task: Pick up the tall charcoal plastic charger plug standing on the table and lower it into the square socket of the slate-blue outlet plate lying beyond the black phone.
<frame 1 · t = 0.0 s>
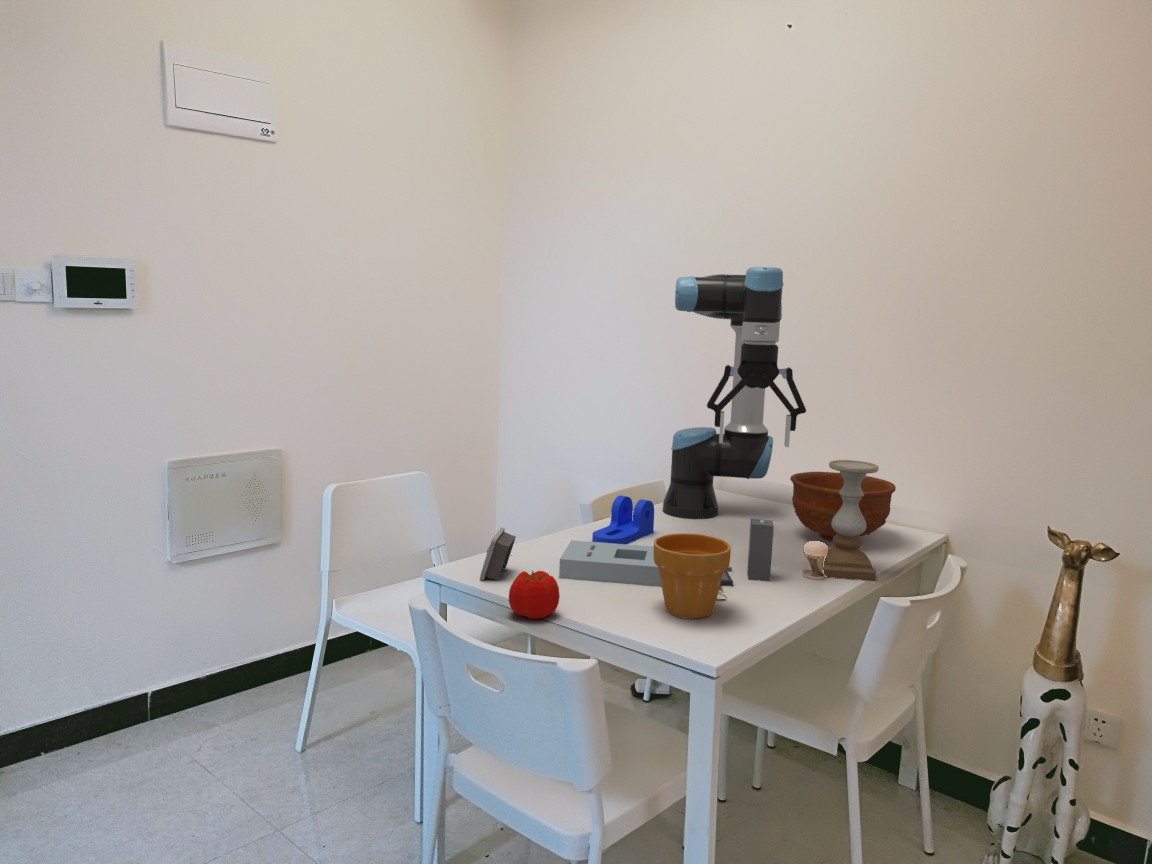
hand: (753, 444, 175), 28 cm above the table, fingers open, 13 cm apart
bracket: (620, 538, 203), on the table
outlet plate: (615, 571, 177), on the table
electrical switch: (497, 575, 173), on the table
usb cable: (697, 566, 182), on the table
tomato: (532, 615, 151), on the table
charger plug: (758, 577, 176), on the table
candle holder: (844, 572, 182), on the table
bowl: (837, 539, 207), on the table
phone: (696, 579, 173), on the table
flower pot: (688, 611, 156), on the table
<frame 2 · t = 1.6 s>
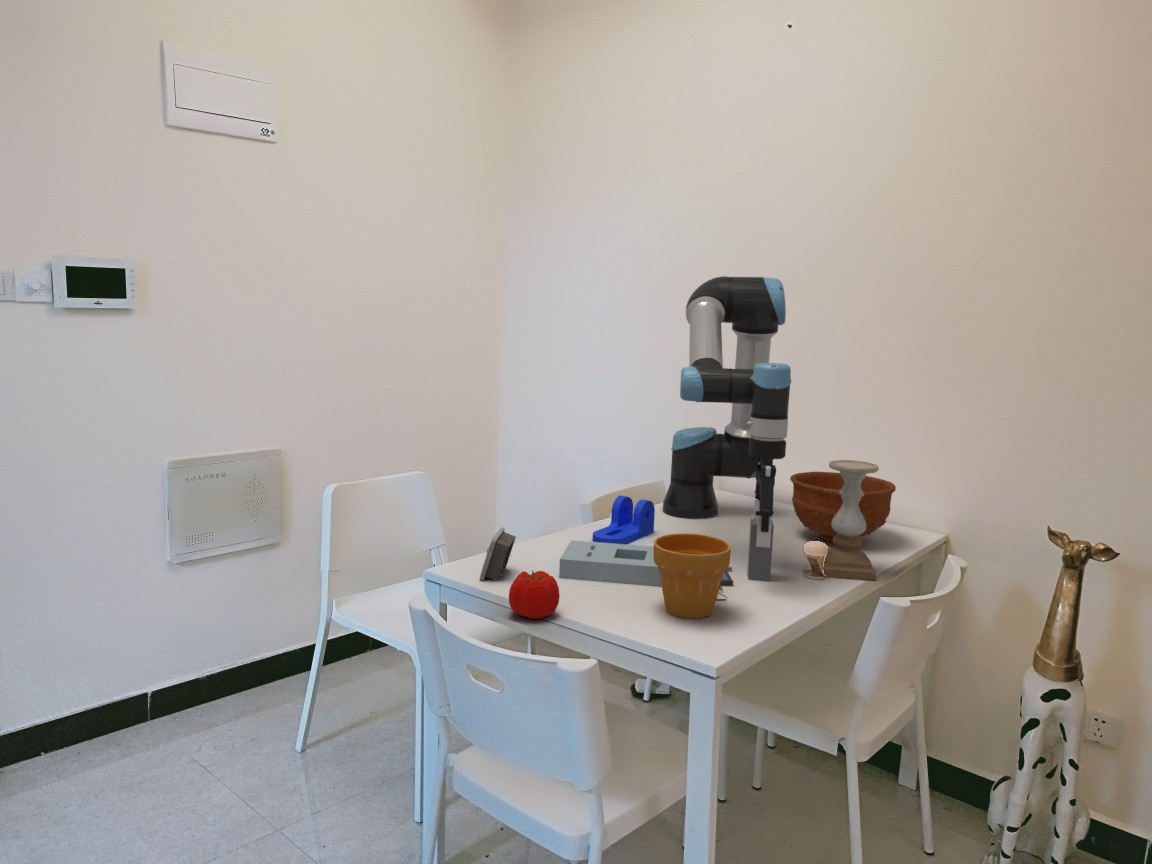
hand: (761, 538, 174), 9 cm above the table, fingers open, 13 cm apart
nothing on the table moved.
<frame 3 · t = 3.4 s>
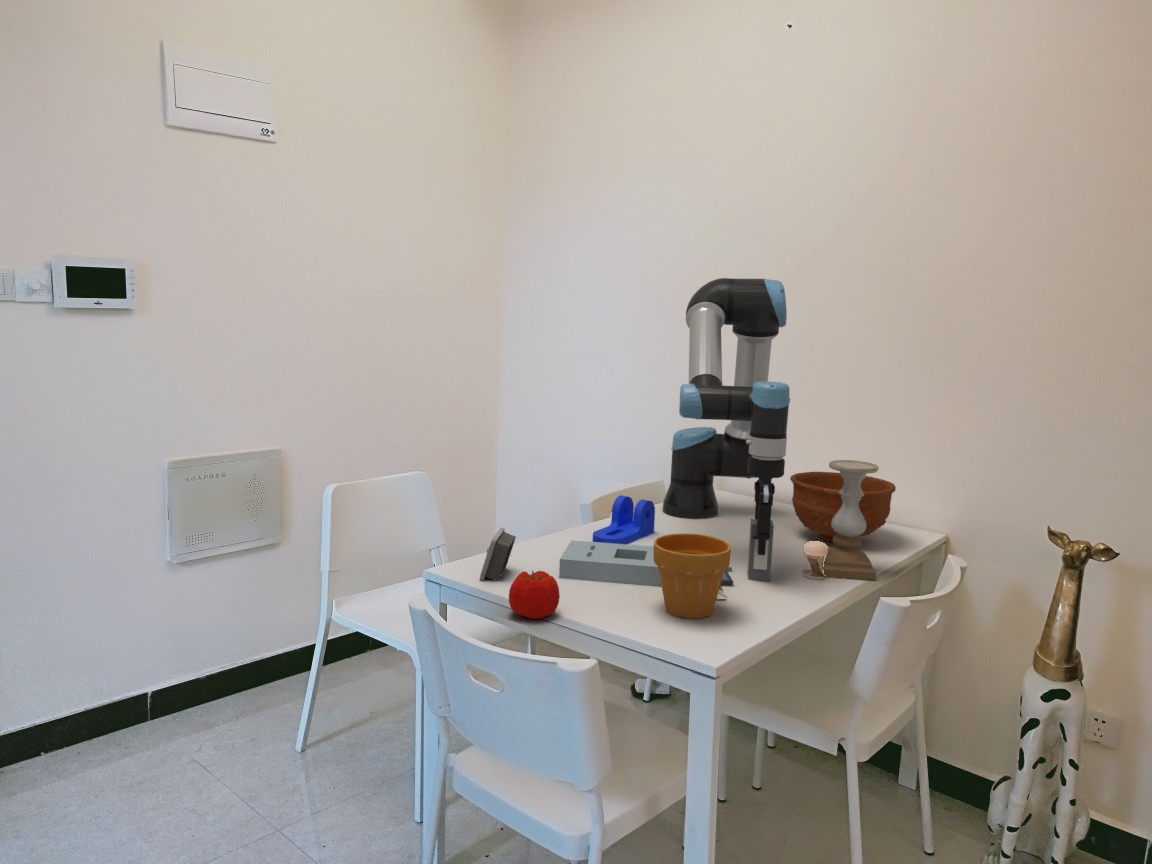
hand: (759, 564, 176), 3 cm above the table, fingers closed on charger plug, 4 cm apart
charger plug: (758, 577, 176), on the table, touching gripper
everything else where it was.
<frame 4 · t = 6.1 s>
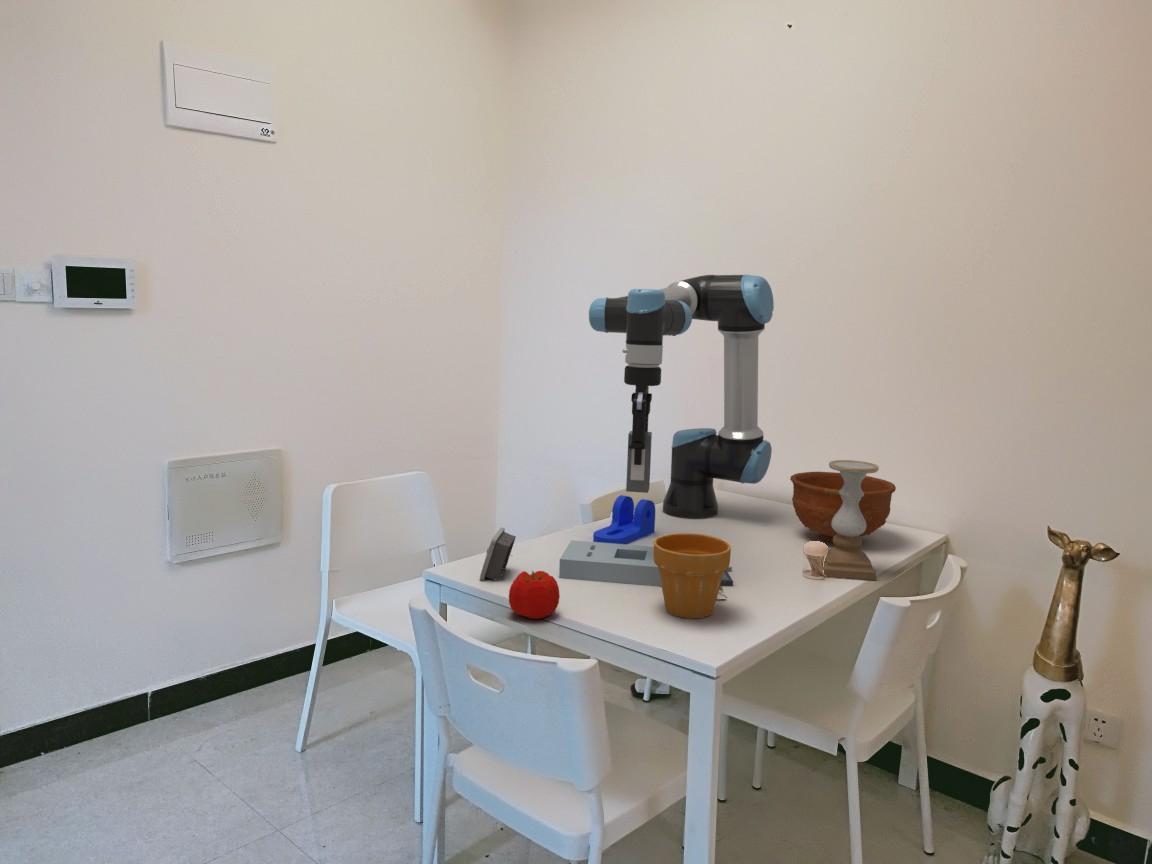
hand: (638, 476, 173), 21 cm above the table, fingers closed on charger plug, 4 cm apart
charger plug: (637, 489, 173), point 18 cm above the table, touching gripper
everything else where it was.
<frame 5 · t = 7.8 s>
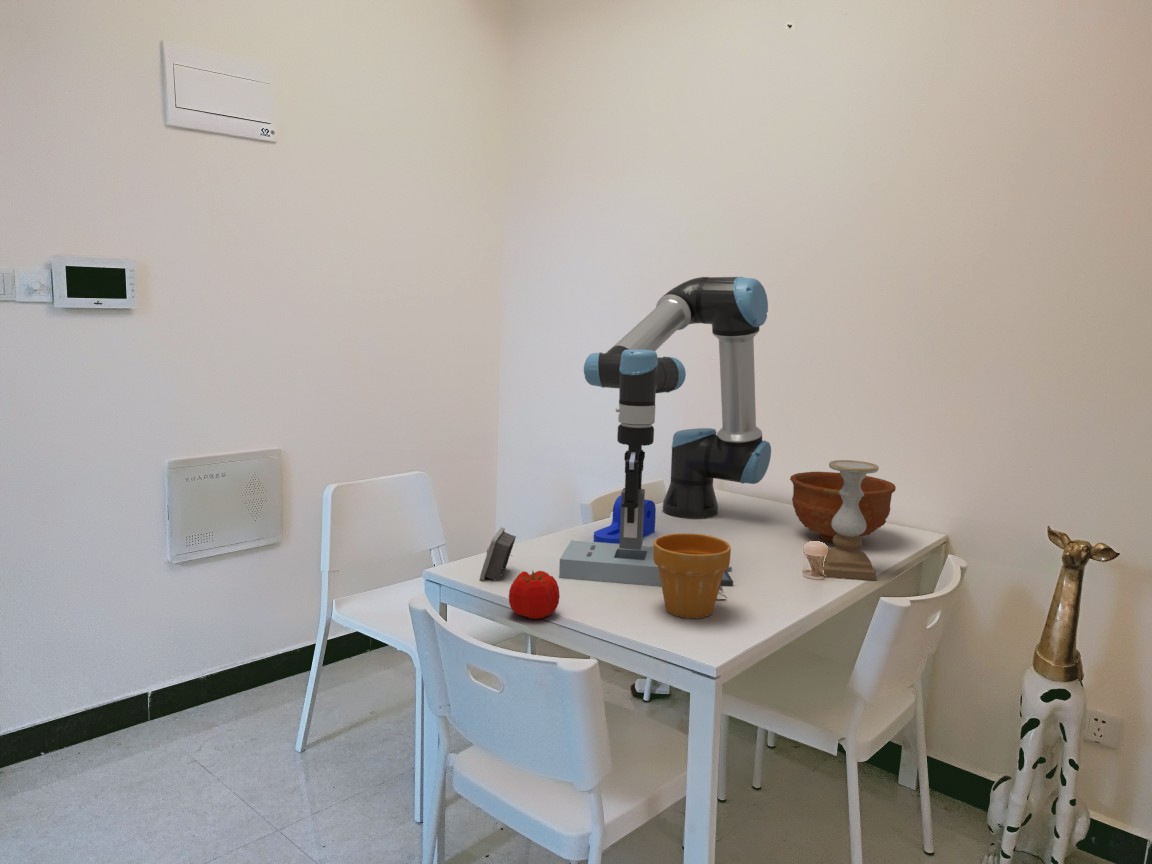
hand: (631, 533, 175), 9 cm above the table, fingers closed on charger plug, 4 cm apart
charger plug: (630, 546, 175), point 6 cm above the table, touching gripper
everything else where it was.
when the fingers open (6 cm above the table, at t = 9.0 s): charger plug drops 3 cm, resting on outlet plate.
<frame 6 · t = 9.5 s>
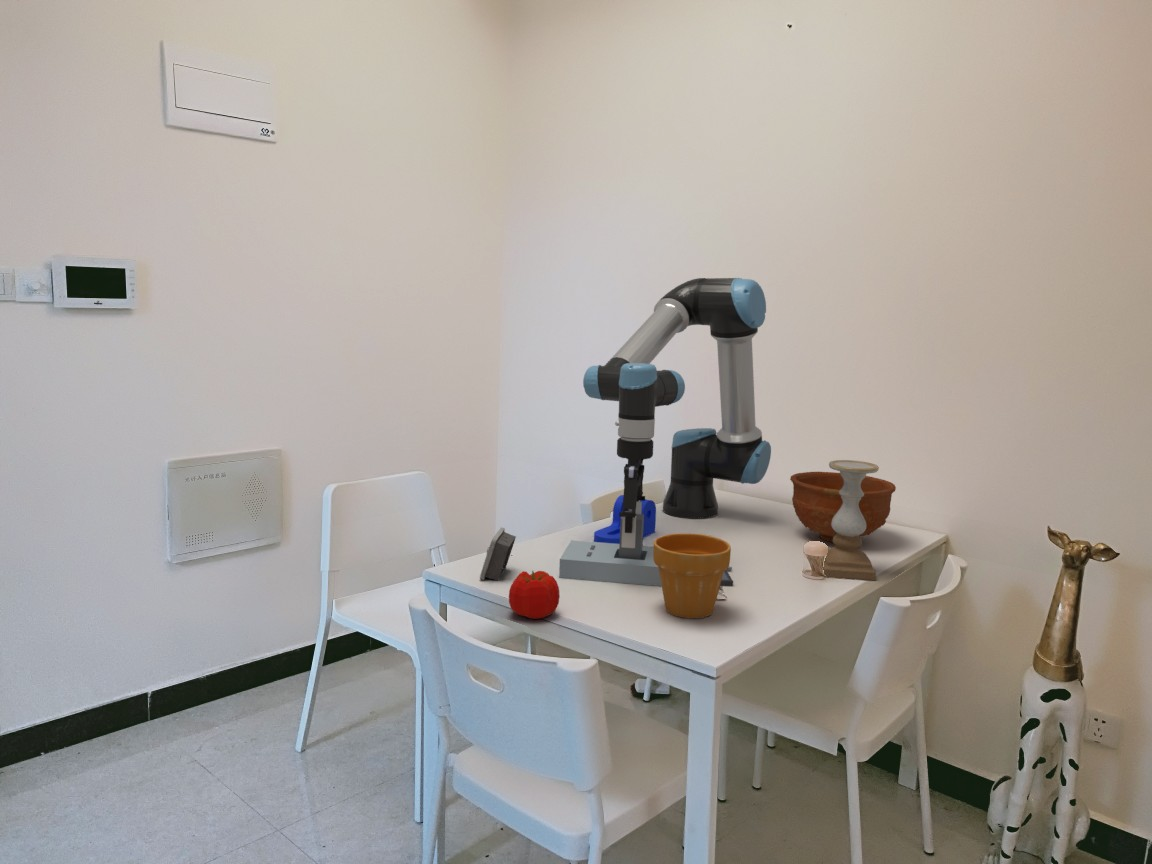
hand: (631, 538, 175), 7 cm above the table, fingers open, 12 cm apart
charger plug: (630, 571, 176), resting on outlet plate
everything else where it was.
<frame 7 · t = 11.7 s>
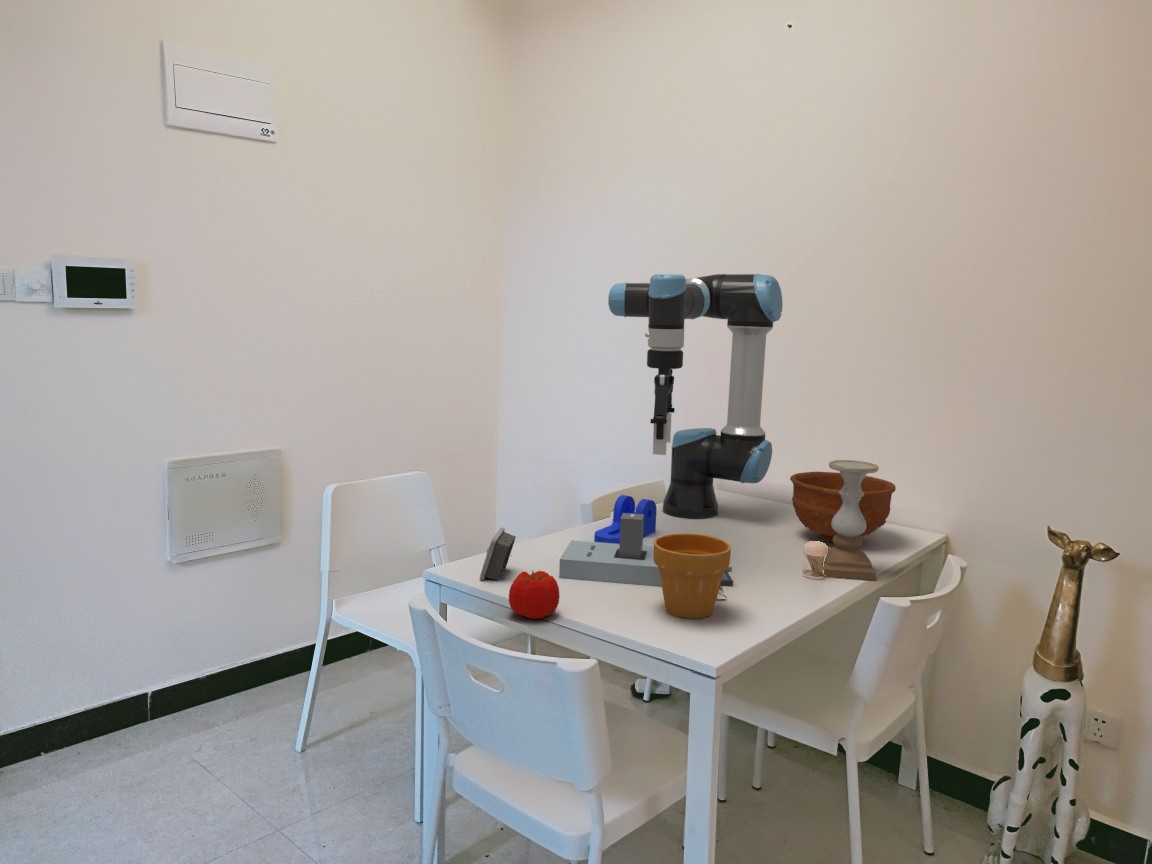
hand: (661, 448, 178), 26 cm above the table, fingers open, 13 cm apart
nothing on the table moved.
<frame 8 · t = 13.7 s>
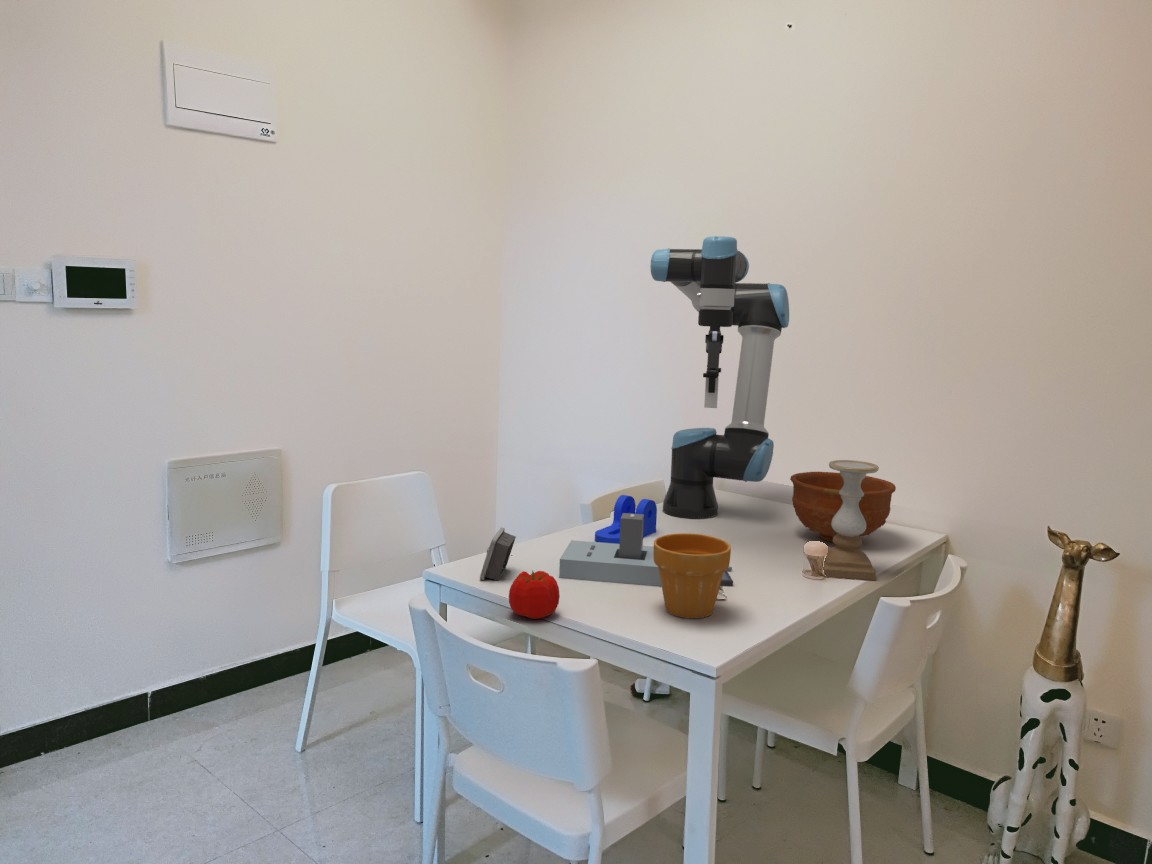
hand: (710, 404, 186), 35 cm above the table, fingers open, 13 cm apart
nothing on the table moved.
at the end: charger plug 0.0 cm from the target spot on the outlet plate, point 0.3 cm above the outlet plate's base; charger plug tilted 0°; the gripper is holding nothing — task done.
